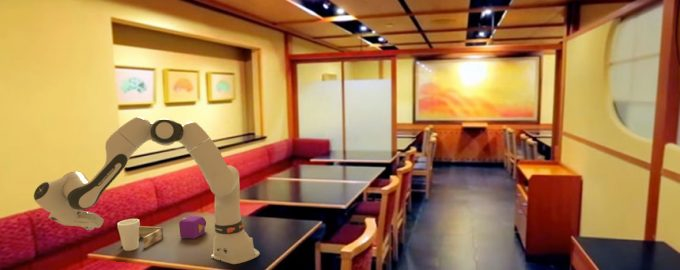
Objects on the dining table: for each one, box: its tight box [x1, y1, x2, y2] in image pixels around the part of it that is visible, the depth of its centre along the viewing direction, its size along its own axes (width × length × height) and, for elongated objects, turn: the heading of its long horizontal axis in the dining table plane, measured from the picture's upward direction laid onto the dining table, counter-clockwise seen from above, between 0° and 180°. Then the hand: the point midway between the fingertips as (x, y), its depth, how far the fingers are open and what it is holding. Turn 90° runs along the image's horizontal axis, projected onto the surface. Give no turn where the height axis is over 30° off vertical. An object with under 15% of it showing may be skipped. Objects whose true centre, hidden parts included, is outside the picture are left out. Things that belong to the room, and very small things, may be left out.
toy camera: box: [178, 215, 207, 240], centre depth 215 cm, size 11×14×10 cm
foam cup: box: [117, 218, 141, 252], centre depth 199 cm, size 10×9×13 cm
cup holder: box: [119, 225, 164, 249], centre depth 208 cm, size 13×14×6 cm
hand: (91, 228), depth 178 cm, fingers closed
